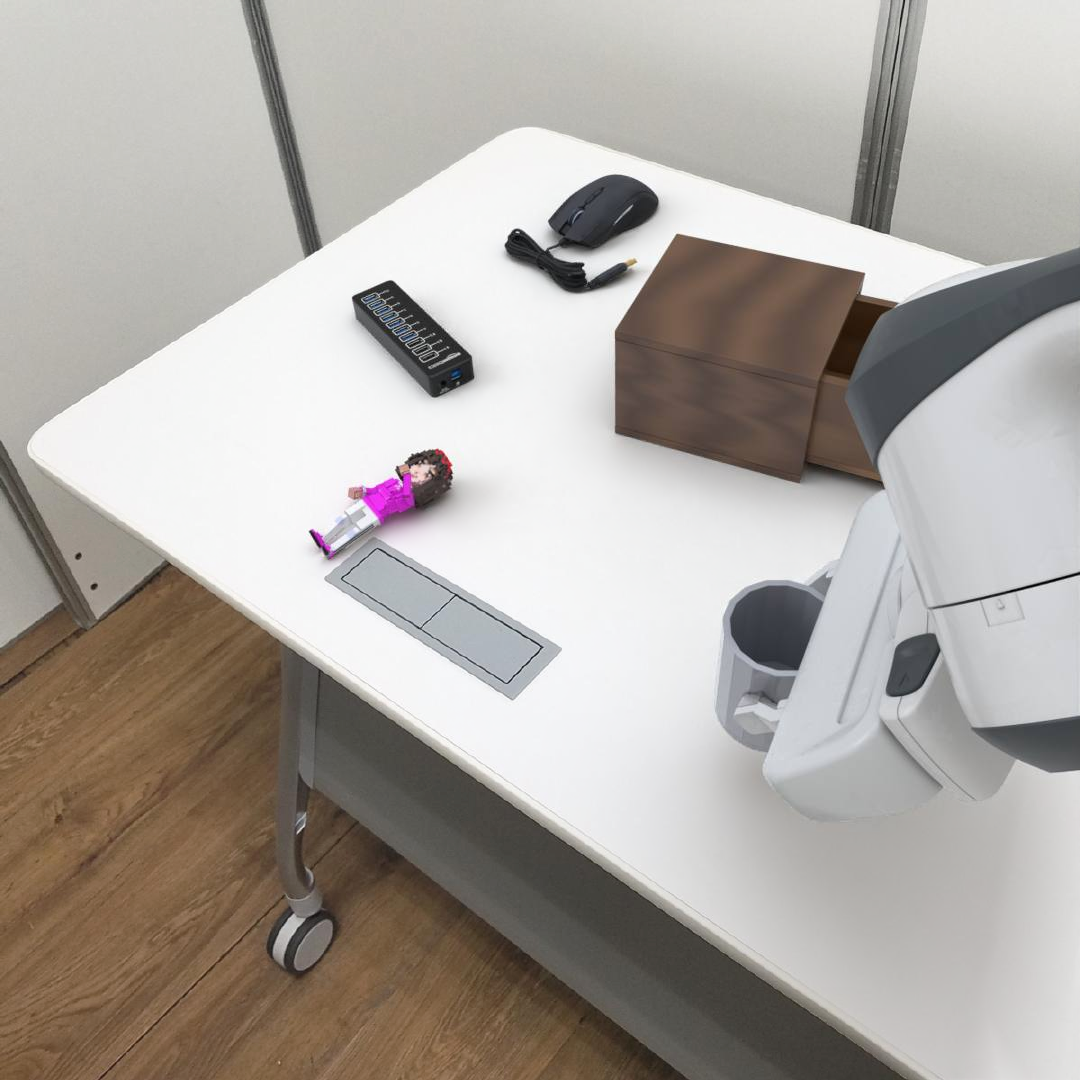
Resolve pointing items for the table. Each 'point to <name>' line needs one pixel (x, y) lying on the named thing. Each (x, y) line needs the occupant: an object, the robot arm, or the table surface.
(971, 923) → the table surface
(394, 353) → the multiport hub
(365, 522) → the character figurine
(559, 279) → the computer mouse
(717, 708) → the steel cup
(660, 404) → the cabinet
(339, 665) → the table surface
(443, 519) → the table surface
